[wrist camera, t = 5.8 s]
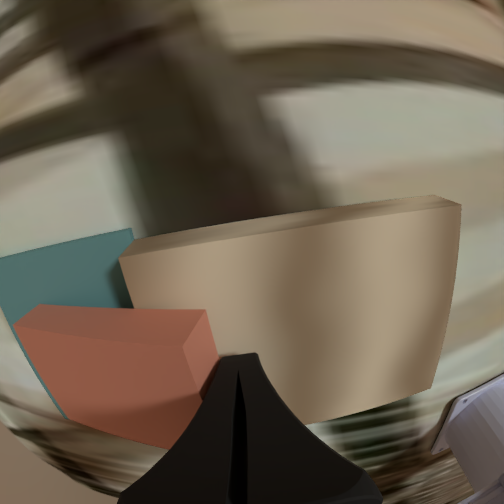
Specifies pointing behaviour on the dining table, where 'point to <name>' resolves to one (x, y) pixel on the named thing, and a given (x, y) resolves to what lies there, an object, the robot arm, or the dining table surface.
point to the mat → (65, 279)
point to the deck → (317, 296)
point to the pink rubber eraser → (123, 366)
